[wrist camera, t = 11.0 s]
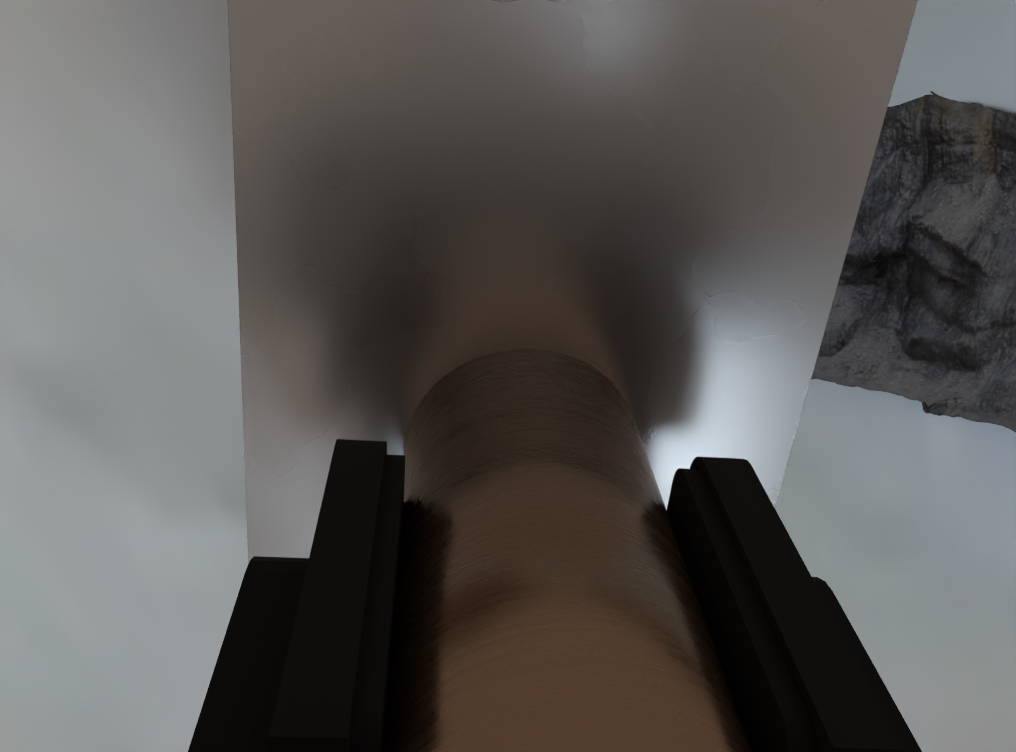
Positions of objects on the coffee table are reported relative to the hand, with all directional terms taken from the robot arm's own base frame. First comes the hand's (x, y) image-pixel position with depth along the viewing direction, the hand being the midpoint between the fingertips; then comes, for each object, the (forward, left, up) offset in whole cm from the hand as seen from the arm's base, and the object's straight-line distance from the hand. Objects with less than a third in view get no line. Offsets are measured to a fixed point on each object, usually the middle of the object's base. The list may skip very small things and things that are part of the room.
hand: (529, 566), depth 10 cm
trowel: (0, -3, -3) cm, 4 cm away
